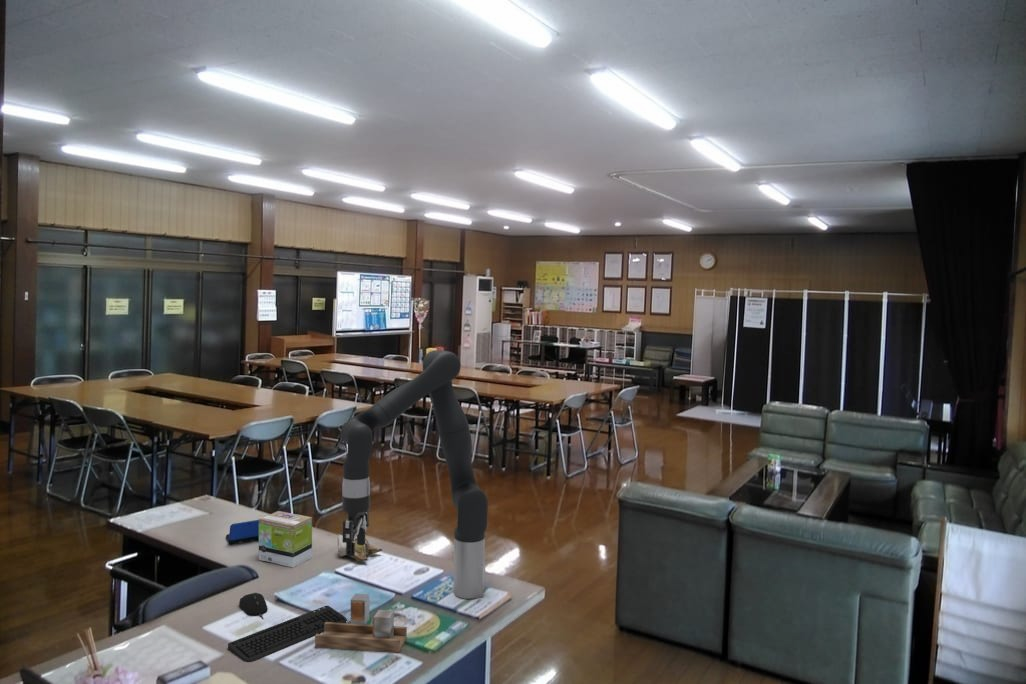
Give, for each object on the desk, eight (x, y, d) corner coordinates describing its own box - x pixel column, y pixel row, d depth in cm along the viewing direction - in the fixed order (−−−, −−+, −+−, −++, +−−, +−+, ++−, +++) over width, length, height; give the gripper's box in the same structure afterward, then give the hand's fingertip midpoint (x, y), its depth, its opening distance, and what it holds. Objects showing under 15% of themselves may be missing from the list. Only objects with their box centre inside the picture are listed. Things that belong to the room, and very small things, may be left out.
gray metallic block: (369, 618, 188) (369, 594, 188) (364, 626, 184) (364, 601, 183) (355, 617, 189) (355, 593, 188) (349, 625, 184) (349, 600, 184)
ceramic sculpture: (347, 525, 239) (384, 533, 234) (346, 548, 240) (382, 557, 235) (329, 535, 229) (367, 543, 224) (328, 559, 230) (366, 568, 225)
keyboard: (248, 666, 164) (248, 658, 164) (226, 650, 171) (226, 642, 171) (350, 623, 186) (350, 616, 186) (327, 611, 194) (327, 604, 193)
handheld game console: (269, 531, 258) (268, 507, 257) (276, 542, 246) (276, 517, 246) (225, 537, 250) (224, 513, 249) (230, 549, 238) (230, 524, 238)
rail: (406, 637, 178) (406, 608, 177) (399, 652, 170) (399, 621, 170) (325, 632, 180) (325, 603, 179) (315, 647, 172) (314, 616, 172)
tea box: (257, 561, 228) (257, 518, 227) (278, 551, 237) (278, 509, 236) (293, 568, 222) (293, 524, 221) (313, 557, 231) (313, 515, 231)
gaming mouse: (251, 623, 185) (251, 609, 185) (236, 603, 197) (236, 590, 196) (274, 617, 189) (274, 603, 188) (258, 598, 200) (258, 585, 200)
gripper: (360, 501, 179) (360, 560, 180) (377, 486, 194) (377, 541, 195) (333, 499, 180) (333, 558, 181) (352, 485, 194) (352, 540, 195)
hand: (356, 550), depth 188 cm, fingers open, 8 cm apart
